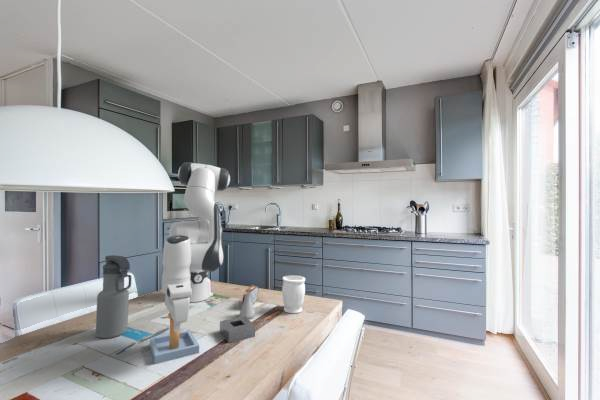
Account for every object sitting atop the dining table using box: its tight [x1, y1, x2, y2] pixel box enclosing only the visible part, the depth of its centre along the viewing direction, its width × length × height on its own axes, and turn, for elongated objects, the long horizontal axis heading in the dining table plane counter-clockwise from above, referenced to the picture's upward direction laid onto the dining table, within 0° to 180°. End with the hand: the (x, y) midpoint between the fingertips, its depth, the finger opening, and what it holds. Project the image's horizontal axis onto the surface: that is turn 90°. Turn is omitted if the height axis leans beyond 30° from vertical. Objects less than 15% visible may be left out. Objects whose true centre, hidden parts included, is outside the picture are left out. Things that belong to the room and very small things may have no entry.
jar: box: [281, 274, 306, 314], centre depth 134 cm, size 11×10×15 cm
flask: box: [238, 292, 256, 320], centre depth 125 cm, size 7×7×10 cm
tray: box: [149, 329, 200, 365], centre depth 96 cm, size 13×13×2 cm
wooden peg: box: [167, 313, 181, 349], centre depth 96 cm, size 4×4×11 cm
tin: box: [241, 284, 259, 305], centre depth 139 cm, size 15×3×8 cm, turn 168°
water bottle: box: [95, 254, 132, 339], centre depth 106 cm, size 10×10×28 cm
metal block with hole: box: [219, 316, 256, 344], centre depth 108 cm, size 10×10×4 cm
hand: (174, 326), depth 96 cm, fingers open, 5 cm apart
